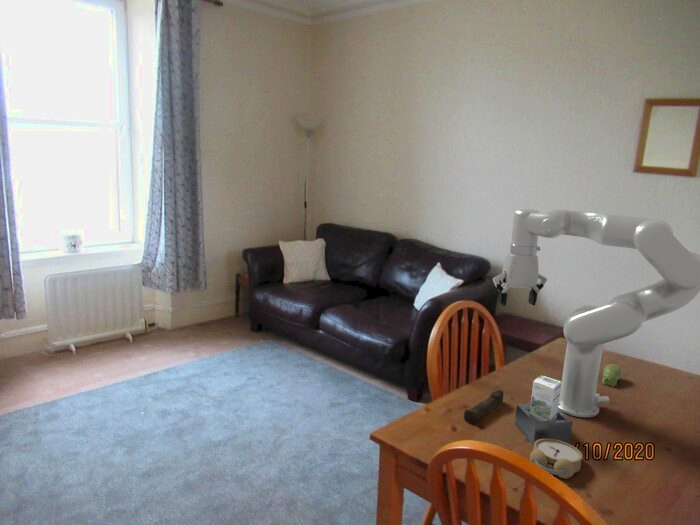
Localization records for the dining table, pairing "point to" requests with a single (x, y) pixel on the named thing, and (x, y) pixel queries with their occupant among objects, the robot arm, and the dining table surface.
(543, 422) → the socket holder
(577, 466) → the alarm clock
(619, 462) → the dining table surface
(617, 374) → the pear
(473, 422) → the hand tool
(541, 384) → the syrup box
